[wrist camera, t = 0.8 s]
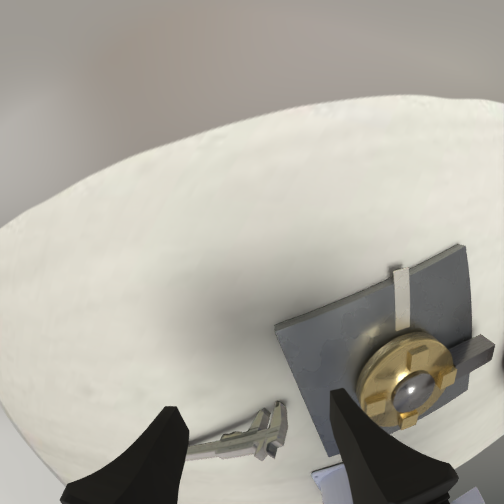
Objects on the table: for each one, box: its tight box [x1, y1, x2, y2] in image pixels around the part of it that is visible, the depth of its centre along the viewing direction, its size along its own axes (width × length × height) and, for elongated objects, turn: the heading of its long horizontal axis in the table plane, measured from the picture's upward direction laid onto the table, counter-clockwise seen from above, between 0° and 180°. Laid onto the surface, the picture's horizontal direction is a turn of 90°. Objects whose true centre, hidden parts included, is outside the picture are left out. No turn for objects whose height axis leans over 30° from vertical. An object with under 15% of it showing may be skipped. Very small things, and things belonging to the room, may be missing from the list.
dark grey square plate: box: [274, 244, 472, 457], centre depth 20 cm, size 19×19×1 cm
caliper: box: [185, 402, 288, 461], centre depth 21 cm, size 21×1×6 cm, turn 128°
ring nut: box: [356, 332, 495, 430], centre depth 18 cm, size 14×9×3 cm, turn 102°
